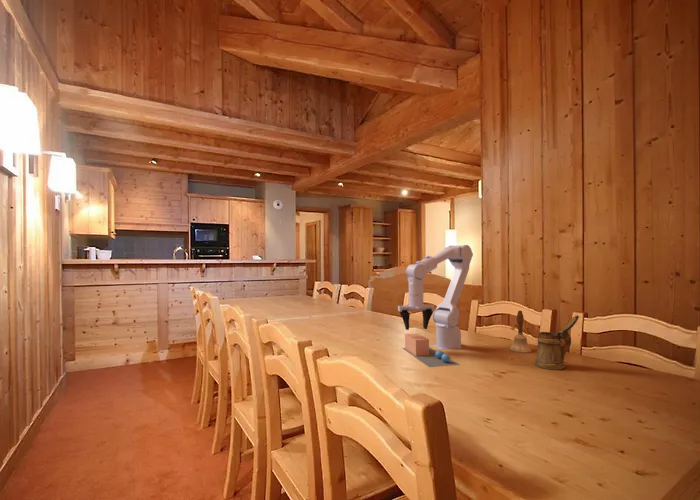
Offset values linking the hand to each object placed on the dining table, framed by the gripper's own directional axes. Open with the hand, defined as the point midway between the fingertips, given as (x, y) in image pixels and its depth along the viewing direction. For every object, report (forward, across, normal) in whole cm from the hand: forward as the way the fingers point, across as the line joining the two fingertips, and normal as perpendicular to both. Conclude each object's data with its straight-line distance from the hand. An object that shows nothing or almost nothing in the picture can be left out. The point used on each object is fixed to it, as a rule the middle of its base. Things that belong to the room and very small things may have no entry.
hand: (416, 329), depth 140 cm
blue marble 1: (+9, +4, -11) cm, 15 cm away
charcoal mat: (+9, +2, -7) cm, 12 cm away
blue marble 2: (+9, +4, -16) cm, 19 cm away
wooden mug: (+10, +40, -28) cm, 49 cm away
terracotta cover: (+9, 0, 0) cm, 9 cm away
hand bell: (+10, +43, -6) cm, 44 cm away
